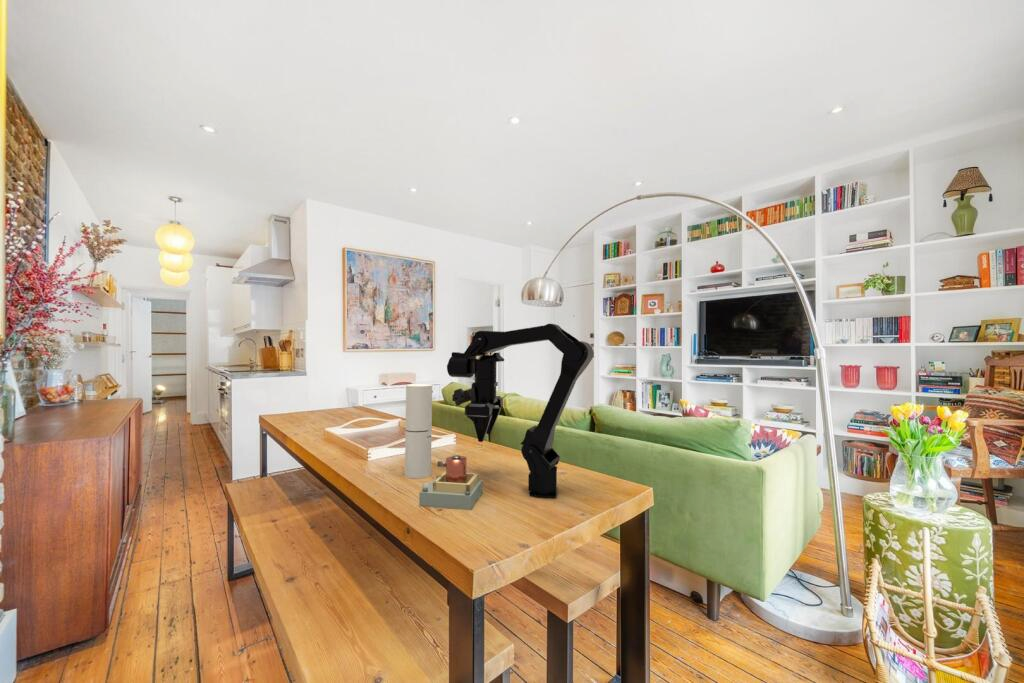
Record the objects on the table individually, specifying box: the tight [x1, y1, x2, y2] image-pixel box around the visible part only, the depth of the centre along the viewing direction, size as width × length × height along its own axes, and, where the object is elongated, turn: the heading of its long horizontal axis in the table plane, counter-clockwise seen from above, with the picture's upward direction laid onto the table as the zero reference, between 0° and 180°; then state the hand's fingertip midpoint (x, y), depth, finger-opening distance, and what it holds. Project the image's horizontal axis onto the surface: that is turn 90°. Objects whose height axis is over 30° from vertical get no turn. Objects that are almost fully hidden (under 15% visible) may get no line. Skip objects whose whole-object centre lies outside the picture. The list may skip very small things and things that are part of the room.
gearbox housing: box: [418, 470, 483, 511], centre depth 97 cm, size 14×11×5 cm
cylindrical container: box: [404, 383, 433, 479], centre depth 115 cm, size 7×7×25 cm
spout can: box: [437, 454, 468, 484], centre depth 97 cm, size 7×5×7 cm
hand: (484, 437), depth 108 cm, fingers open, 9 cm apart
